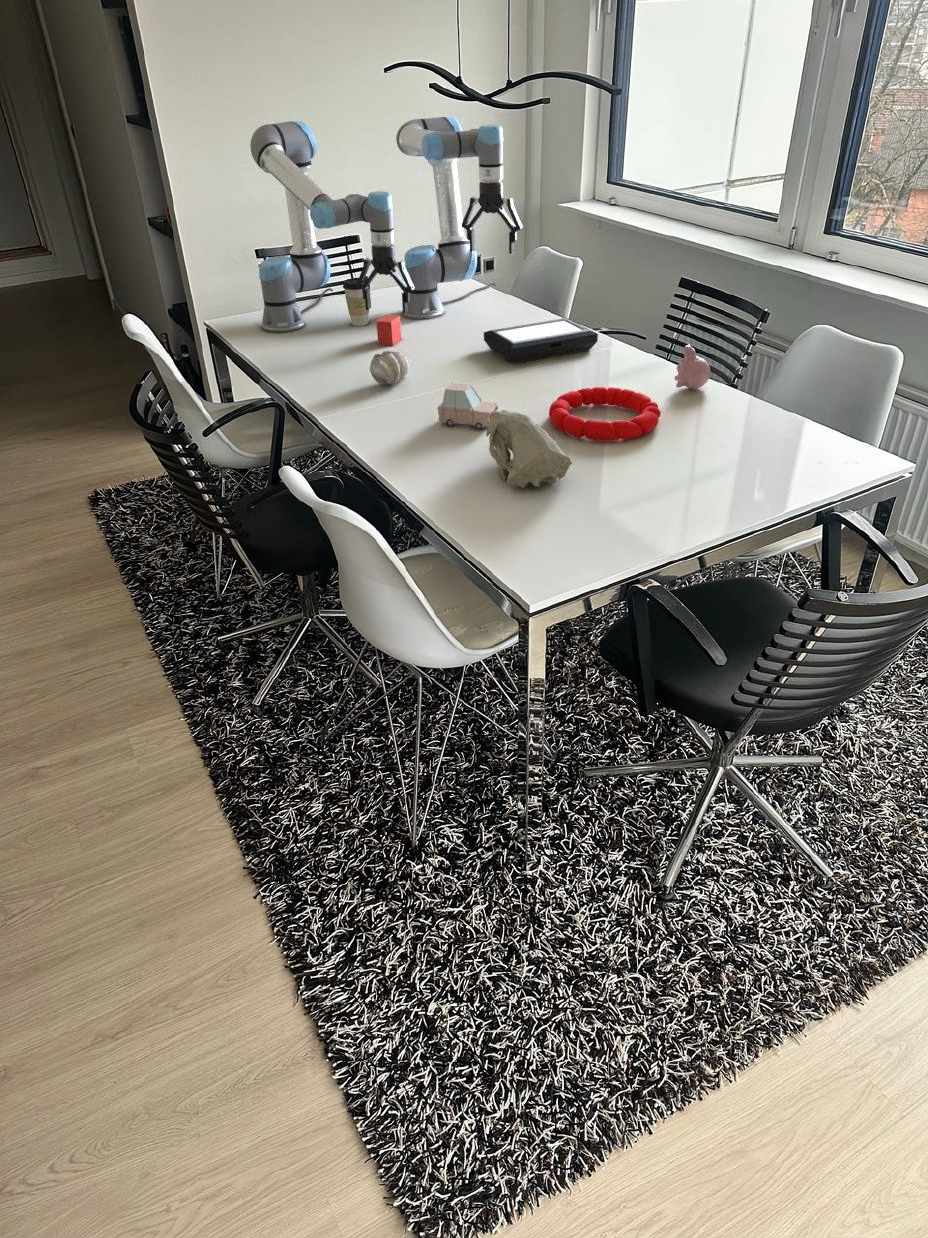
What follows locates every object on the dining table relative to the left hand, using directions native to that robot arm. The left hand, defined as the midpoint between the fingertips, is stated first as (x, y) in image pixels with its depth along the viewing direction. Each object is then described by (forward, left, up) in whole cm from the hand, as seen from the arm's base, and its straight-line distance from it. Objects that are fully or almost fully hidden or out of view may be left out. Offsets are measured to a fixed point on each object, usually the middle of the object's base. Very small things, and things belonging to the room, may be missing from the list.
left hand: (386, 310), depth 302 cm
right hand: (+4, +36, +17) cm, 40 cm away
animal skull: (+112, +21, -11) cm, 114 cm away
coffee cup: (-24, -8, -11) cm, 28 cm away
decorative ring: (+87, +50, -11) cm, 101 cm away
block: (0, 0, -11) cm, 11 cm away
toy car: (+79, +13, -11) cm, 81 cm away
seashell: (+42, -4, -11) cm, 44 cm away
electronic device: (+22, +48, -11) cm, 54 cm away
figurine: (+69, +82, -11) cm, 108 cm away
